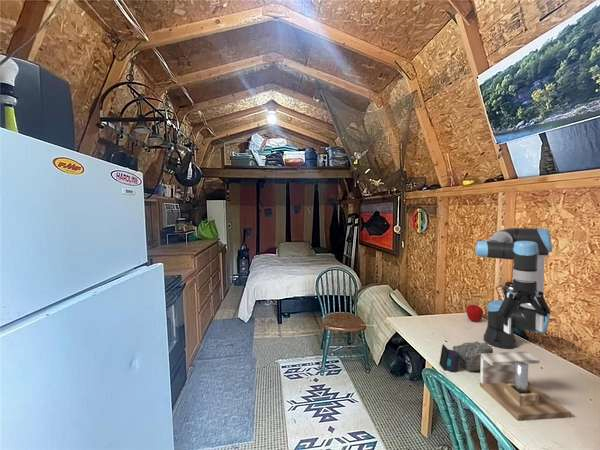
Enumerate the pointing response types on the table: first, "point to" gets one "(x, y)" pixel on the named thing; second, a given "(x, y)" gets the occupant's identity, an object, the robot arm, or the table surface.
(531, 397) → the socket board
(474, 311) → the apple
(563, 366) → the table surface
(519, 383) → the peg
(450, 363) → the speaker
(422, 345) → the table surface
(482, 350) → the rock
